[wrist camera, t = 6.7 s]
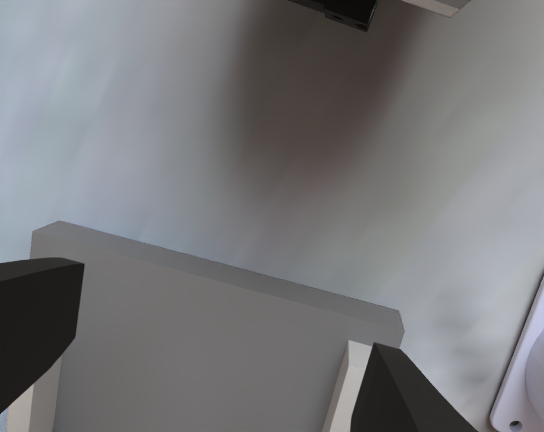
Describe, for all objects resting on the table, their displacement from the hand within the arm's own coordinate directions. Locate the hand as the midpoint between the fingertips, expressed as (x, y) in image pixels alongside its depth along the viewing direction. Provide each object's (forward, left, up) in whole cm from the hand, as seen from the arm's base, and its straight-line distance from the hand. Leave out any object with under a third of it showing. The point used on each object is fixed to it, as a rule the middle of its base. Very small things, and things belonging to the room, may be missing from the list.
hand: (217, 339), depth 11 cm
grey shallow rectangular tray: (+2, +12, -10) cm, 16 cm away
